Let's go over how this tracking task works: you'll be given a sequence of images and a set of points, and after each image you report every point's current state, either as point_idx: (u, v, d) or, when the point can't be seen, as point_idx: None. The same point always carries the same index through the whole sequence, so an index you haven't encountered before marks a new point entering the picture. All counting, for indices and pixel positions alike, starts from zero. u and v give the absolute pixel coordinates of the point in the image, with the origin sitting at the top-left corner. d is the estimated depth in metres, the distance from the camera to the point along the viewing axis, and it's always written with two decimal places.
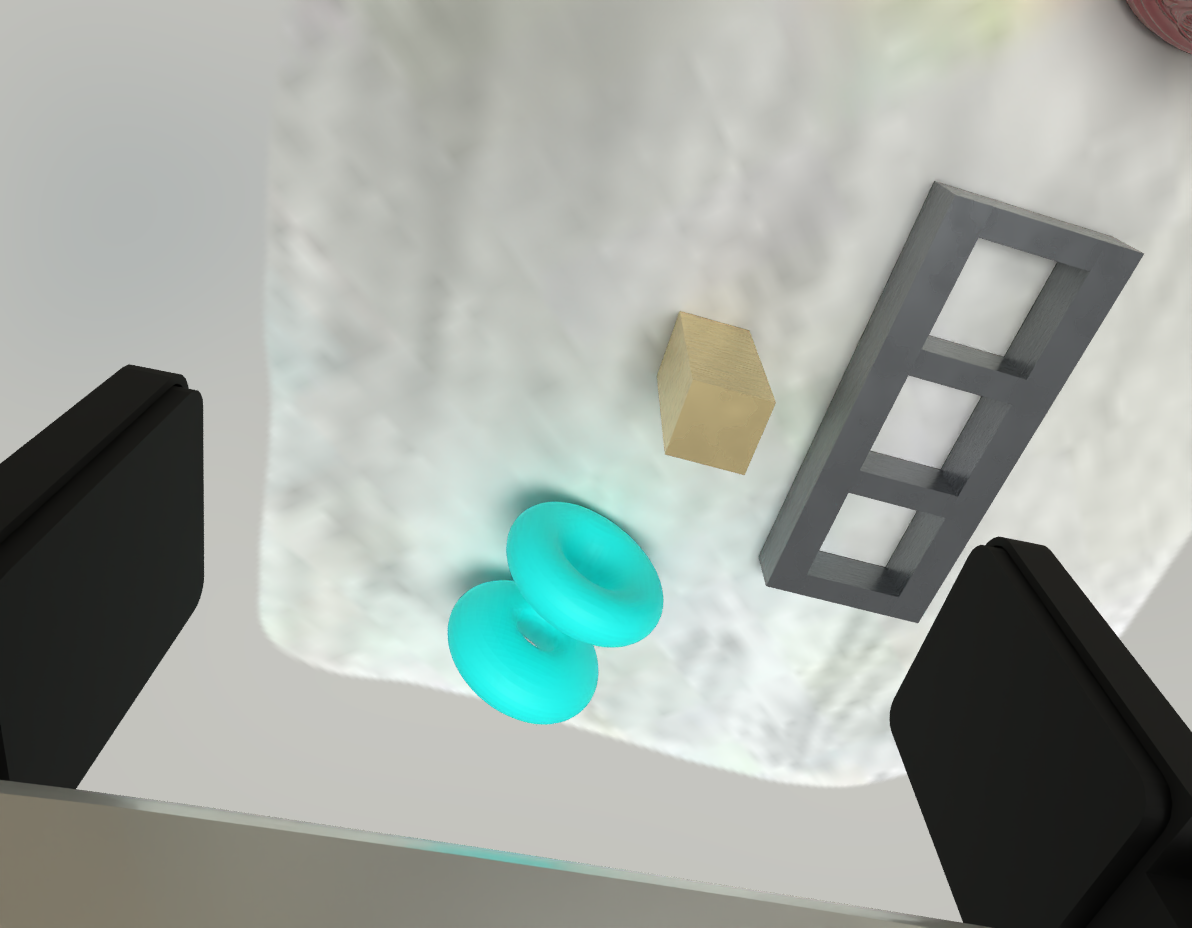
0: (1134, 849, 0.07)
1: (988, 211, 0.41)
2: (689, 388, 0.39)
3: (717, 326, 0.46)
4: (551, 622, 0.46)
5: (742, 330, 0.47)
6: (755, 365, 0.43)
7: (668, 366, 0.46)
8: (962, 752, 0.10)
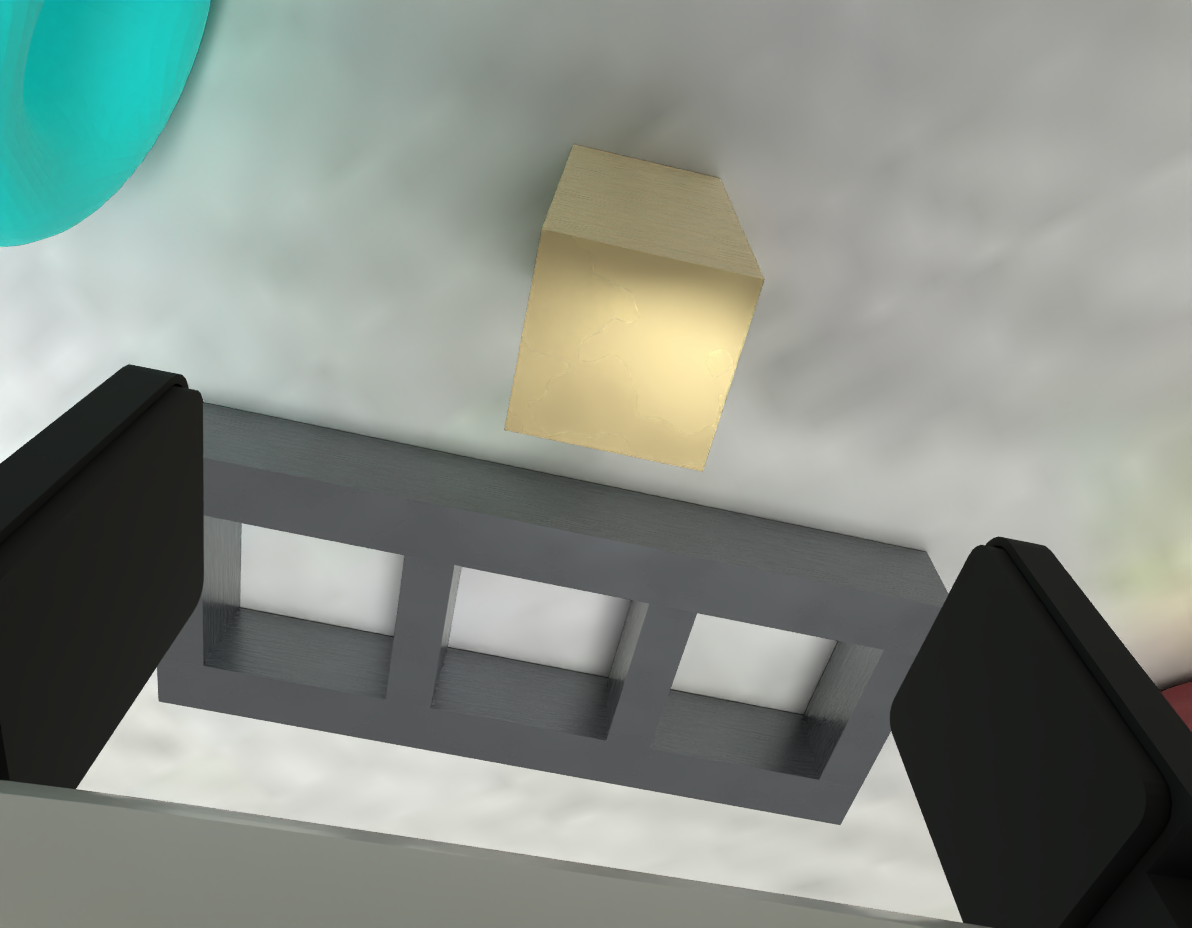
0: (1135, 849, 0.07)
1: None
2: (737, 273, 0.15)
3: None
4: None
5: None
6: None
7: (634, 175, 0.21)
8: (962, 751, 0.10)
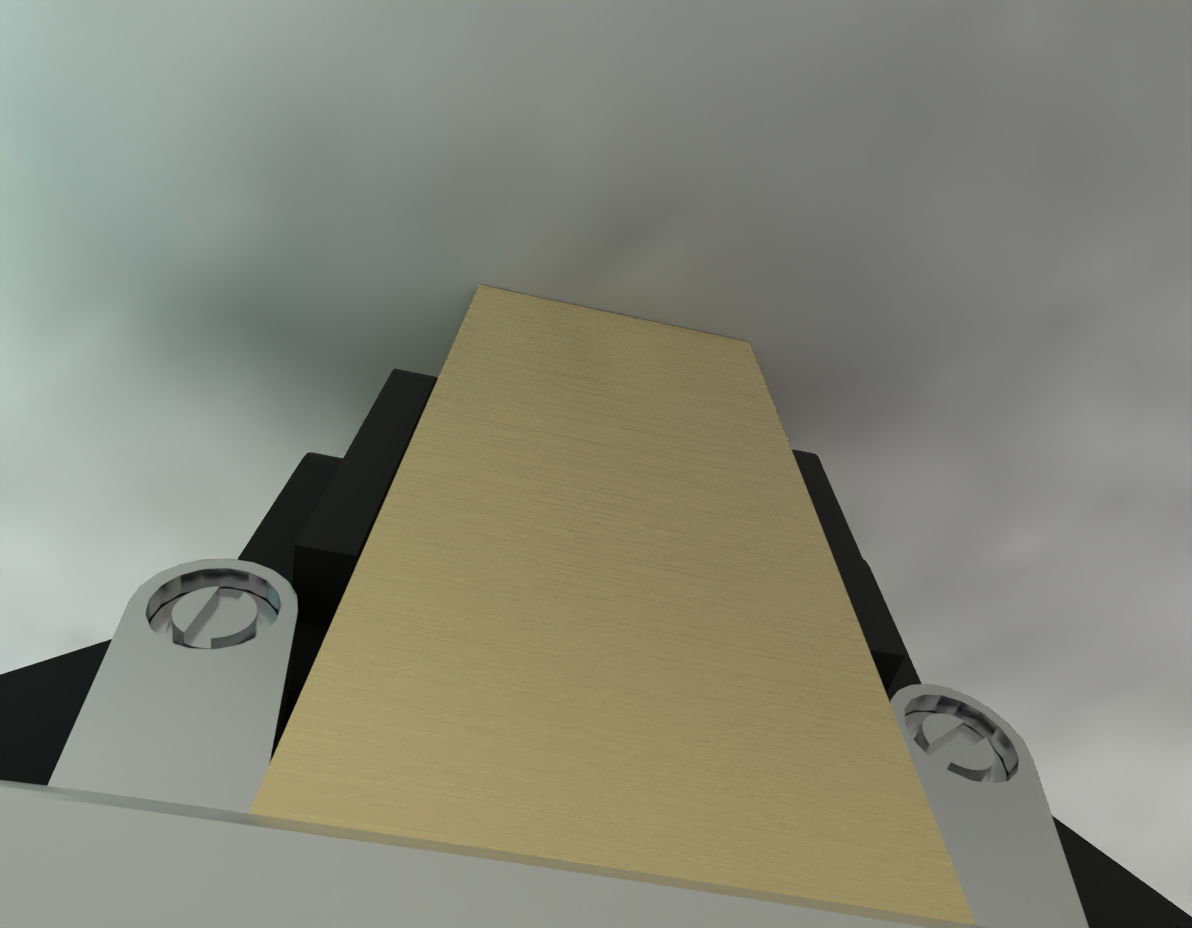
0: None
1: None
2: None
3: None
4: None
5: None
6: None
7: (590, 372, 0.10)
8: None
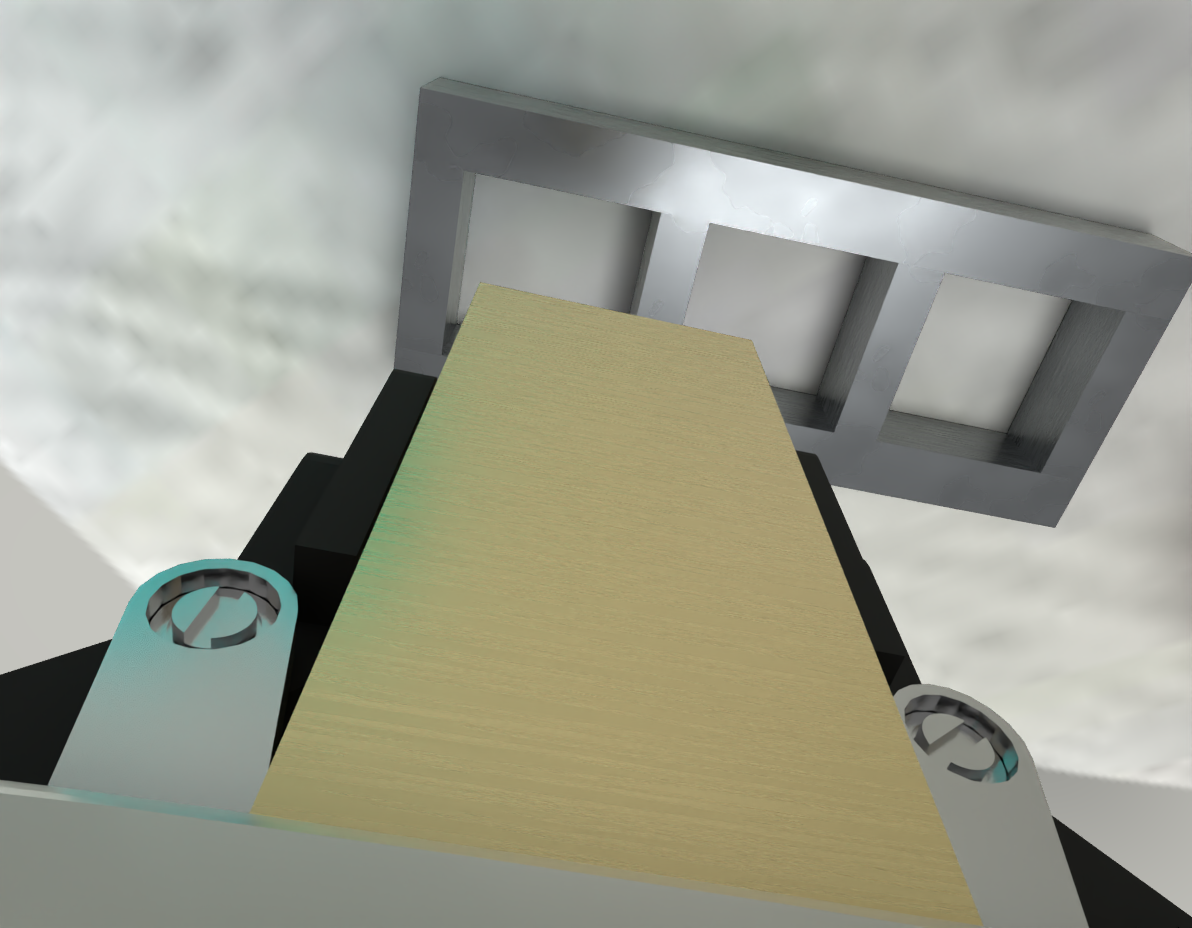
0: None
1: (1164, 314, 0.27)
2: (900, 911, 0.05)
3: None
4: None
5: None
6: None
7: (591, 370, 0.10)
8: None
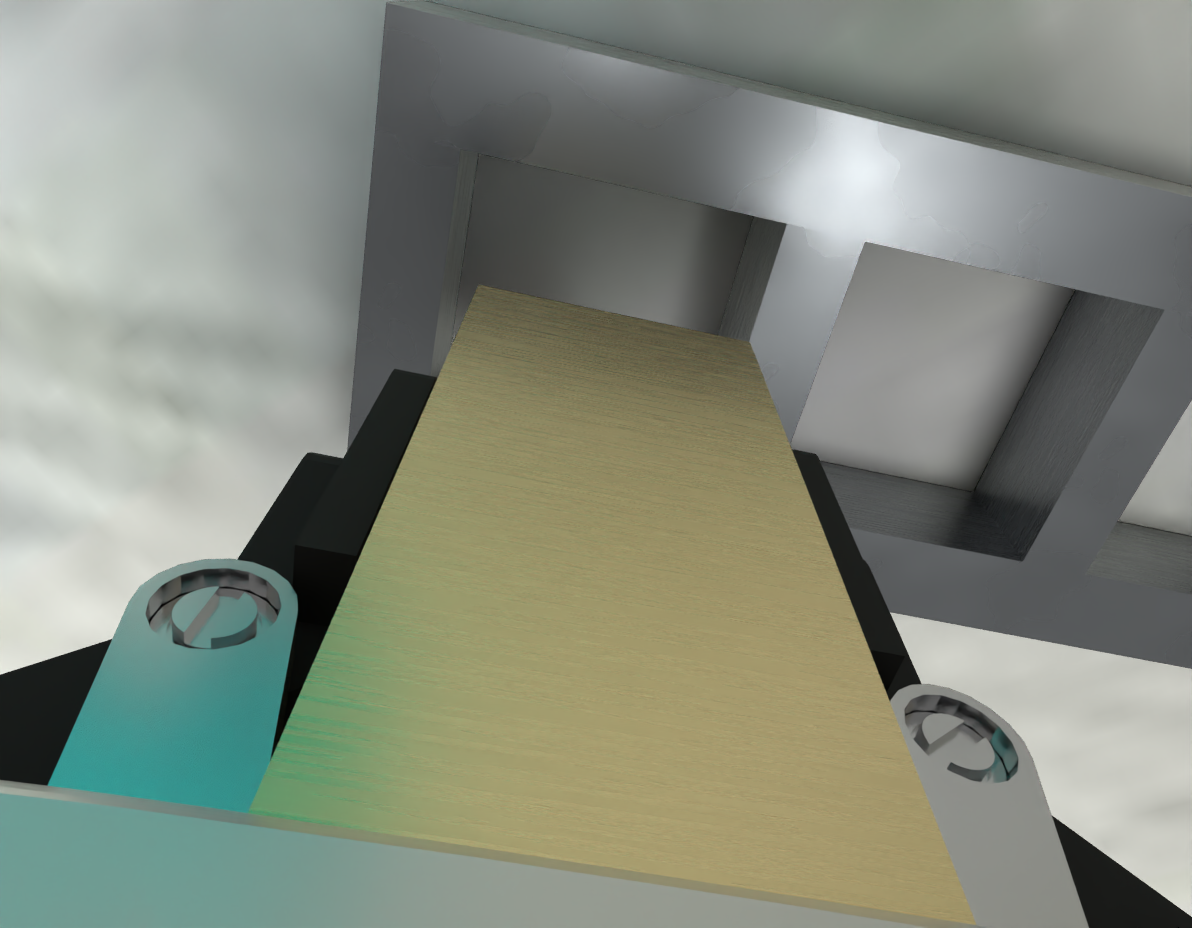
0: None
1: None
2: None
3: None
4: None
5: None
6: None
7: (589, 372, 0.10)
8: None
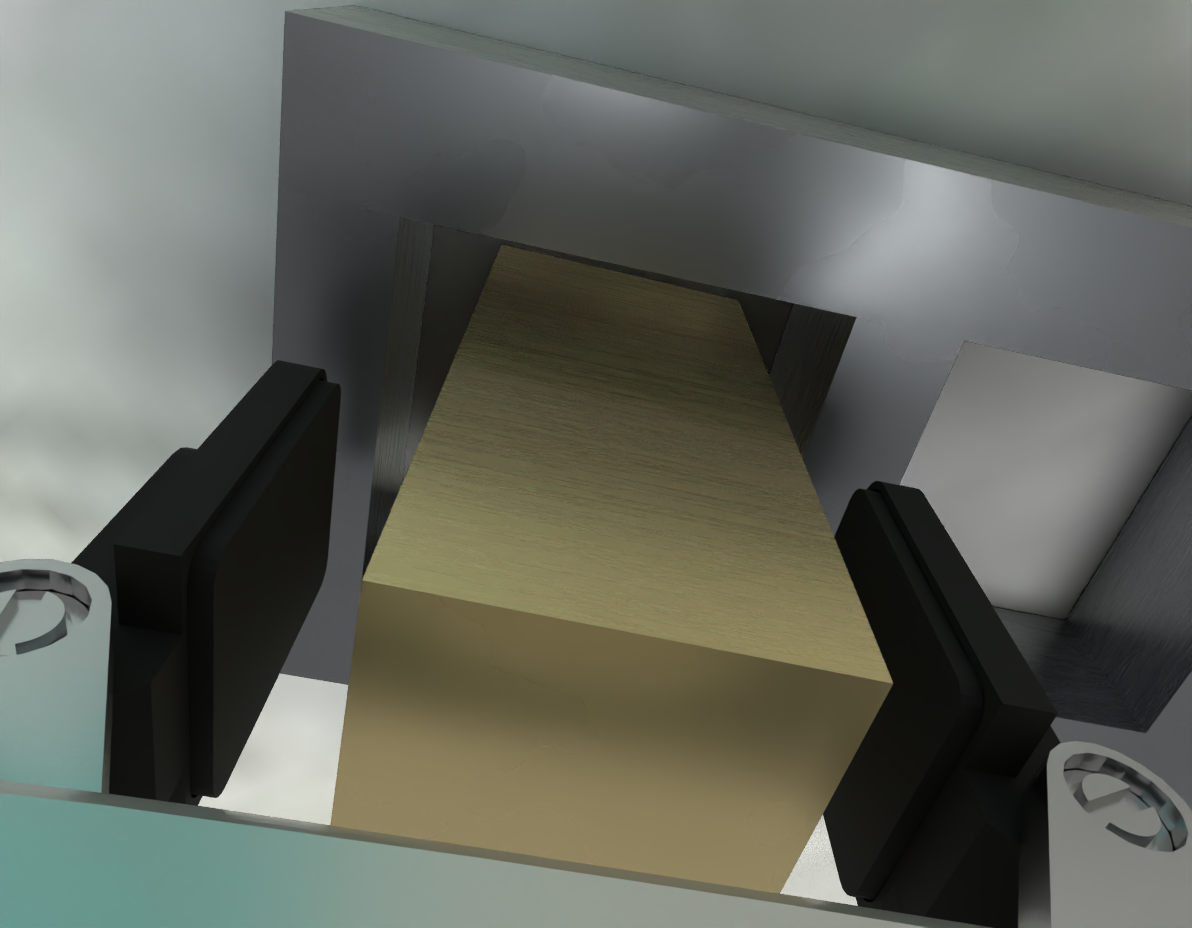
0: (954, 747, 0.08)
1: None
2: (830, 666, 0.07)
3: None
4: None
5: None
6: None
7: (600, 315, 0.12)
8: None
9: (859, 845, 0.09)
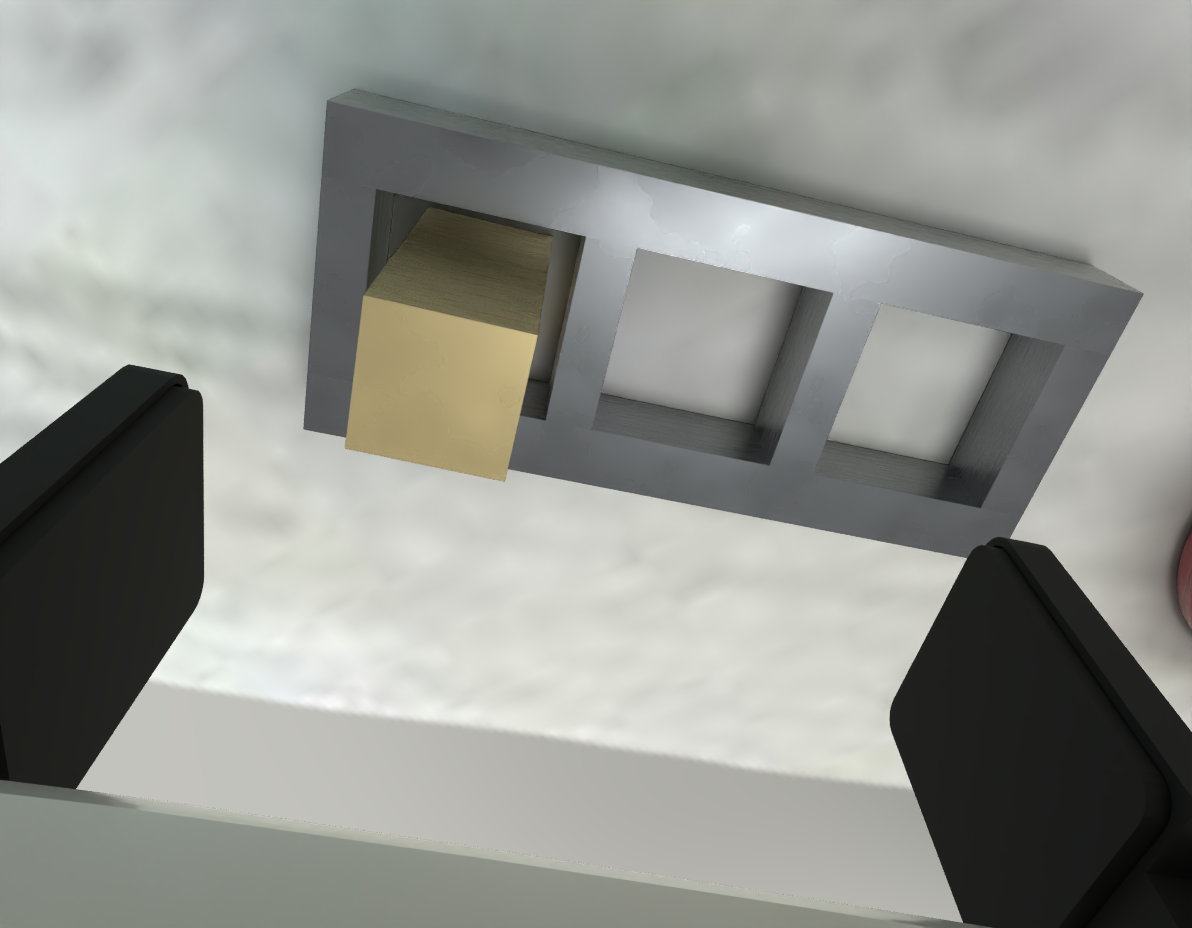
0: (1134, 849, 0.07)
1: (1104, 349, 0.26)
2: (517, 330, 0.20)
3: None
4: None
5: None
6: None
7: (472, 238, 0.25)
8: (961, 753, 0.10)
9: None
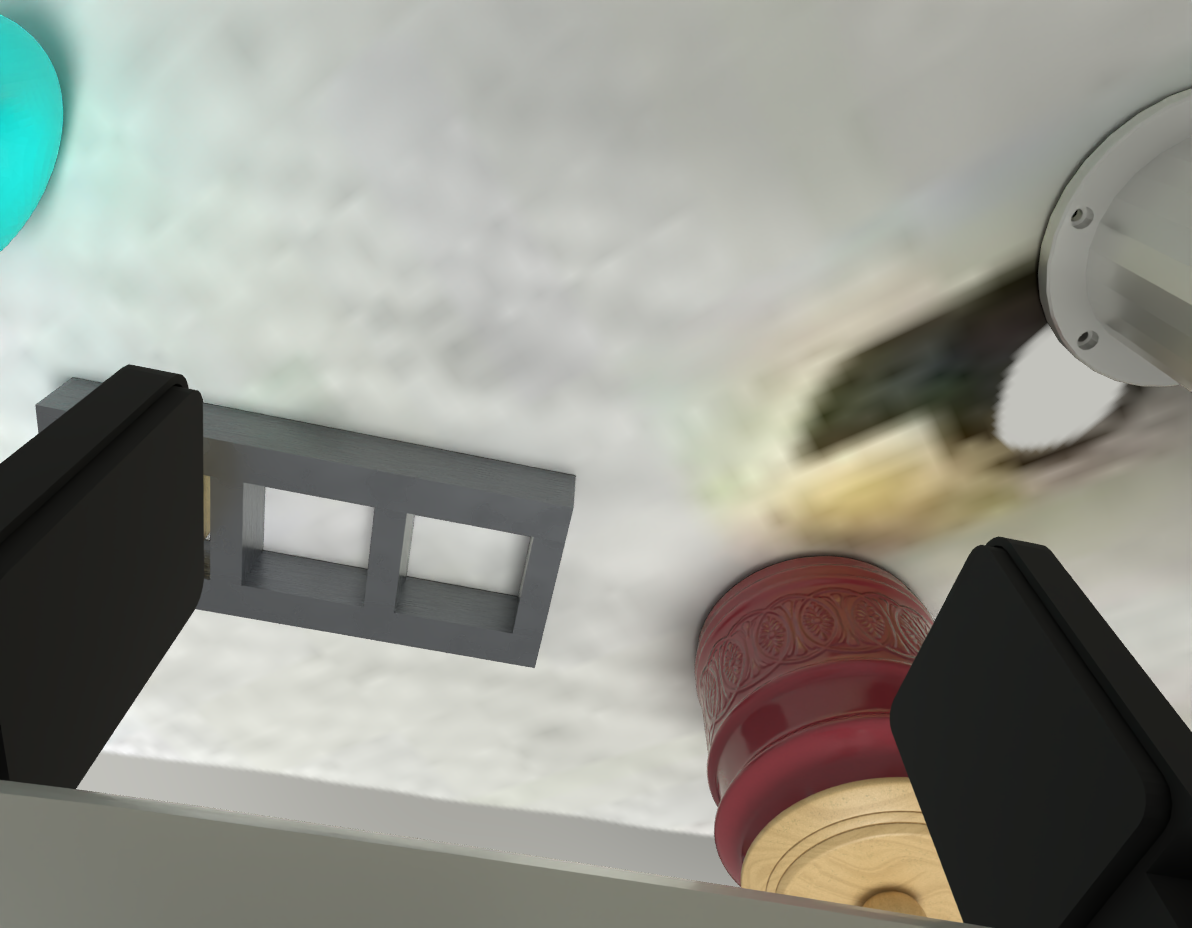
0: (1134, 849, 0.07)
1: (559, 539, 0.41)
2: None
3: (209, 501, 0.43)
4: None
5: None
6: None
7: None
8: (961, 751, 0.10)
9: None
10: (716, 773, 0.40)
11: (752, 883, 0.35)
